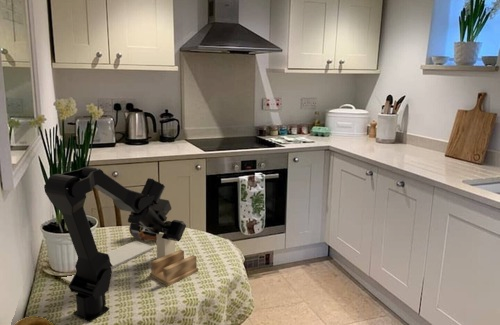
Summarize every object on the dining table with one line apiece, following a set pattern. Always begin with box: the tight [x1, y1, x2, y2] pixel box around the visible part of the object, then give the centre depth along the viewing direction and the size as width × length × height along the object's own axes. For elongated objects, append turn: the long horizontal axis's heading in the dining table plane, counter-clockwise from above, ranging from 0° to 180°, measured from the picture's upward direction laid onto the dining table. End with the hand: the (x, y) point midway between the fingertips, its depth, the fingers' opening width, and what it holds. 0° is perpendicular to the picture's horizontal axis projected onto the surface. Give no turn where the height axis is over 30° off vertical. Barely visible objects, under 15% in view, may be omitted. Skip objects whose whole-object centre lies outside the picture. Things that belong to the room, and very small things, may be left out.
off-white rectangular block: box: [156, 232, 176, 260], centre depth 135 cm, size 6×3×10 cm, turn 157°
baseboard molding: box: [60, 238, 154, 285], centre depth 134 cm, size 31×3×12 cm
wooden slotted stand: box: [149, 248, 199, 287], centre depth 126 cm, size 12×9×5 cm
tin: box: [129, 220, 167, 241], centre depth 151 cm, size 15×3×8 cm, turn 88°
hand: (168, 236), depth 136 cm, fingers closed on off-white rectangular block, 3 cm apart
